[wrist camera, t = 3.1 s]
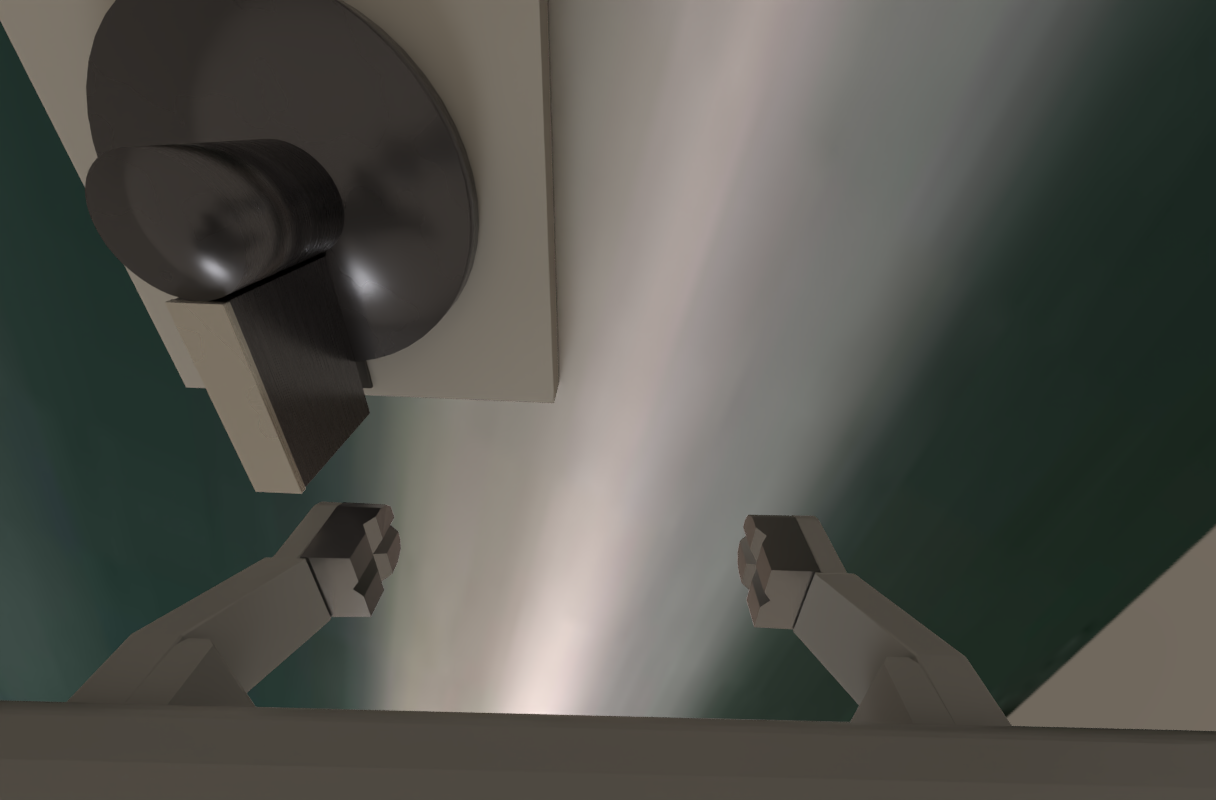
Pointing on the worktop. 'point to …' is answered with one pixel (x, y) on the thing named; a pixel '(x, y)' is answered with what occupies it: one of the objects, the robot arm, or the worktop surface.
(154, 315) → the dial base
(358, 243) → the dial
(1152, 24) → the worktop surface
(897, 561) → the worktop surface
